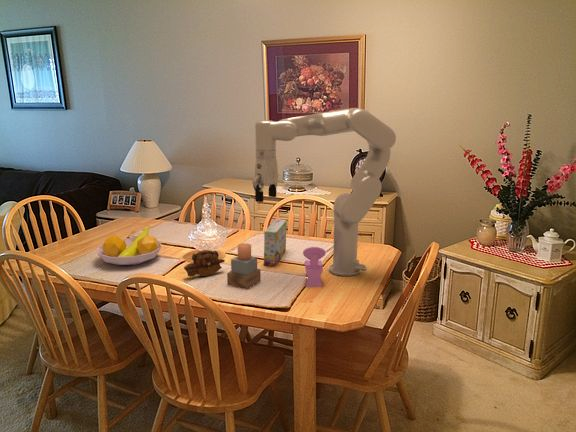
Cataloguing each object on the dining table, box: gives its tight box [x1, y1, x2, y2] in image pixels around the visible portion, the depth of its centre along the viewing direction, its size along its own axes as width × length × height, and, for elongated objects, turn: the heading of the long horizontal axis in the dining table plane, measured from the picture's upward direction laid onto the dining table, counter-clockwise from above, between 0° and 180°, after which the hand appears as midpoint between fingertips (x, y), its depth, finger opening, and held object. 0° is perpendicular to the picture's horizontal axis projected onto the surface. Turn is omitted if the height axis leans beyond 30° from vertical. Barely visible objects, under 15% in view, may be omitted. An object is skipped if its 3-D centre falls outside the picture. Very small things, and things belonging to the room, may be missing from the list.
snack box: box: [263, 218, 288, 267], centre depth 206 cm, size 21×6×15 cm, turn 168°
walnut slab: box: [226, 268, 262, 290], centre depth 180 cm, size 9×9×5 cm
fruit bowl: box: [96, 225, 162, 266], centre depth 204 cm, size 28×27×11 cm
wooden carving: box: [183, 249, 225, 278], centre depth 186 cm, size 16×5×10 cm, turn 126°
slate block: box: [230, 255, 258, 276], centre depth 179 cm, size 7×7×5 cm
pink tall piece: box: [302, 246, 326, 288], centre depth 180 cm, size 8×9×15 cm
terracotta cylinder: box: [237, 243, 252, 261], centre depth 178 cm, size 5×5×5 cm
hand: (266, 199), depth 182 cm, fingers open, 9 cm apart
